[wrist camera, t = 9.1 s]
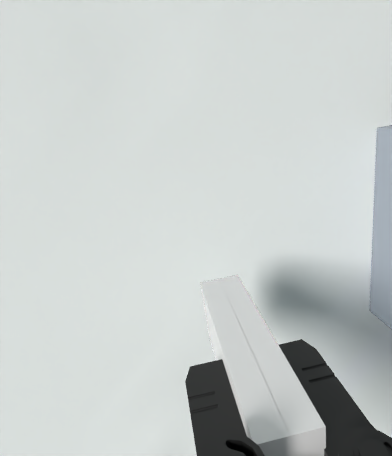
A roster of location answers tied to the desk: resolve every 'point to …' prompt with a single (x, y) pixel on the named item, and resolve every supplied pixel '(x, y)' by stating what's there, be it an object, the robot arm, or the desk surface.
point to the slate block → (382, 229)
